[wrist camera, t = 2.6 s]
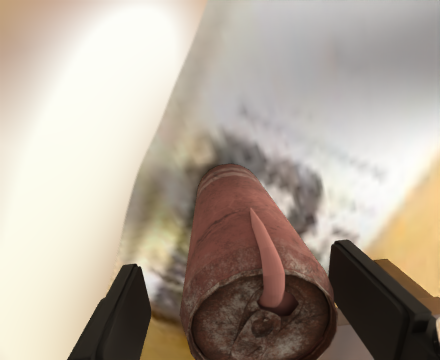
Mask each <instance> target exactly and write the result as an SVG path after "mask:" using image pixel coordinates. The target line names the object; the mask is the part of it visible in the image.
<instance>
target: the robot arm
mask: <svg viewBox="0 0 440 360" xmlns="http://www.w3.org/2000/svg"><path fill="white" fill-rule="evenodd" d="M328 278H329V281H330V283H331V286H332V288H333V292H334V302H335V303H336V305H337V306H338V308H339V309H340V311H341V312H342V314H343V315H344V316H345V318H346V319H347V321H348V322H349V324H350V325H351V326H352V328H353V329H354V331H355V332H356V334H357V335H358V337H359V338H360V339H361V341H362V342H363V344H364V345H365V347H366V348H367V350H368V351H369V352H370V354H371V355H372V357H373V358H374V360H440V318H438V319H436V318H435V317H434V316H433V315H431V313H432V312H431V311H430V310H429V309H428V308H427V307H426V306H424V305H423V304H422V303H421V302H420V301H419V300H418V299H416V298H415V297H414V296H413V295H412V294H411V293H409V292H408V291H407V290H406V289H405V288H404V287H403V286H401V285H400V284H399V283H398V282H397V281H396V280H395V279H393V278H392V277H391V276H390V275H389V274H388V273H386V272H385V271H384V270H383V269H382V268H381V267H380V266H378V265H377V264H376V263H375V262H374V261H373V260H371V259H370V258H369V257H368V256H367V255H366V254H365V253H363V252H362V251H361V250H360V249H359V248H358V247H357V246H355V245H354V244H353V243H352V242H351V241H349V240H339V241H335V242H334V244H332V246H331V254H330V265H329V276H328ZM150 319H151V306H150V302H149V298H148V294H147V290H146V285H145V281H144V277H143V273H142V269H141V267H140V266H139V267H138V266H137V264H128V265H123V266H122V268H121V269H120V271H119V273H118V275H117V277H116V279H115V280H114V282H113V284H112V286H111V288H110V290H109V291H108V293H107V295H106V297H105V298H103V299H102V300H101V301H100V302H99V304H98V306H97V307H96V309H95V311H94V313H93V315H92V316H91V318H90V320H89V322H88V324H87V325H86V327H85V329H84V331H83V332H82V334H81V336H80V338H79V340H78V341H77V343H76V345H75V347H74V348H73V350H72V352H71V354H70V356H69V357H68V359H67V360H140V356H141V353H142V349H143V345H144V341H145V338H146V334H147V330H148V326H149V323H150Z"/></svg>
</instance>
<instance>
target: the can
mask: <svg viewBox="0 0 440 360" xmlns="http://www.w3.org/2000/svg"><path fill="white" fill-rule="evenodd" d="M180 317H181V321H182V324H183V328H184V332H185V334H186V336H187V341H188V344H189V348H190V352H191V354H192V356H193V357H194V358H195V359H196V360H319V358H320V357H321V356H322V355H323V354H324V353H325V352H326V351H327V350H328V349H329V347H330V345H331V343H332V341H333V339H334V337H335V334H336V332H337V324H338V312H337V310H336V307H335V305H334V292H333V288H332V286H331V283H330V281H329V278H328V276H327V273H326V272H325V270H324V269H323V268H322V266H321V265H320V263H319V262H318V261H317V259H316V258H315V257H314V255H313V254H312V253H311V251H310V250H309V249H308V247H307V246H306V244H305V243H304V242H303V240H302V239H301V238H300V236H299V235H298V234H297V232H296V231H295V230H294V228H293V227H292V225H291V224H290V223H289V221H288V220H287V219H286V217H285V216H284V215H283V213H282V212H281V210H280V209H279V208H278V206H277V205H276V204H275V202H274V201H273V200H272V198H271V197H270V196H269V194H268V193H267V191H266V190H265V189H264V187H263V186H262V185H261V183H260V182H259V181H258V179H257V178H256V177H255V176H254V175H253V173H252V172H251V171H250V170H248V169H246V168H244V167H242V166H240V165H235V164H224V165H219V166H217V167H215V168H213V169H211V170H209V171H208V172H207V173H206V174H205V175H204V176H203V177H202V179H201V181H200V183H199V185H198V191H197V198H196V205H195V212H194V219H193V226H192V233H191V240H190V247H189V254H188V261H187V267H186V274H185V281H184V288H183V295H182V302H181V309H180Z"/></svg>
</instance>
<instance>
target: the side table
mask: <svg viewBox="0 0 440 360" xmlns="http://www.w3.org/2000/svg"><path fill="white" fill-rule="evenodd" d="M374 262H375V263H376V264H377V265H378V266H380V267H381V268H382V269H383V270H384V271H385V272H386V273H388V274H389V275H390V276H391V277H392V278H393V279H395V280H396V281H397V282H398V283H399V284H400V285H401V286H403V287H404V288H405V289H406V290H407V291H408V292H409V293H411V294H412V295H413V296H414V297H415V298H416V299H418V300H419V301H420V302H421V303H422V304H423V305H424V306H426V307H427V308H428V309H429V310H430V311H431V312H432V313H431V315H433V316H434V317H435V318H436V319H438V318H440V298H439V297H433V296H432V295H430V294H429V293H428V292H427V291H426V290H424V289H423V288H422V287H421V286H419V285H418V284H417V283H416V282H415V281H413V280H412V279H411V278H410V277H408V276H407V275H406V274H405V273H404V272H402V271H401V270H400V269H399V268H398V267H396V266H395V265H394V264H393V263H391V262H390V261H389V260H388V259H383V260H374ZM336 310H337V312H338V324H337V332H336V334H335V337H334V339H333V341H332V343H331V345H330V347H329V349H328V350H327V351H326V352H325V353H324V354H323V355H322V356H321V357H320V358H319V360H374V358H373V357H372V355H371V354H370V352H369V351H368V350H367V348H366V347H365V345H364V344H363V342H362V341H361V339H360V338H359V337H358V335H357V334H356V332H355V331H354V329H353V328H352V326H351V325H350V324H349V322H348V321H347V319H346V318H345V316H344V315H343V314H342V312H341V311H340V309H339V308H336Z"/></svg>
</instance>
